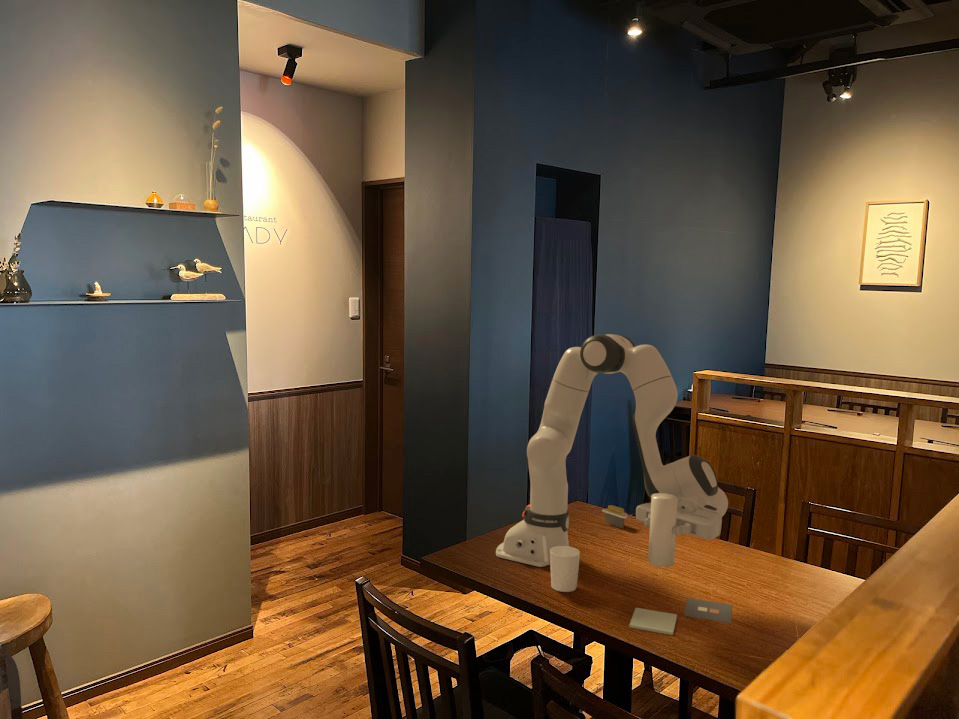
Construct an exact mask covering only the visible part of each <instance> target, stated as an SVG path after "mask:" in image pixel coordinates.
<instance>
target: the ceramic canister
mask: <svg viewBox="0 0 959 719" xmlns="http://www.w3.org/2000/svg"><path fill="white" fill-rule="evenodd" d="M650 502H651V514H650V527H649V534H648V535H649V536H648V537H649V539H648V557H647V558H648V559H647V560H648V563H649V564H651V565H653V566H656V567H663V568H665V567H668V568H669V567H673V566H674V564H675V551H676V550H675V549H676V534H673V533H672V531H673V526H675V525H676V517H677V497H676V496H674V495H671V494H666V493H655V494H652V495H651V498H650Z"/></svg>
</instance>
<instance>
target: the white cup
mask: <svg viewBox="0 0 959 719" xmlns="http://www.w3.org/2000/svg"><path fill="white" fill-rule="evenodd" d="M580 553H581V551H580V550H579V549H577V548H576V547H574V546H570V545H569V546H556V547H553V548H551V549H550V565H549V568H550V583H551V584H550V585H551V589H553V590H554V591H557V592H560V593H569V592H570V593H571V592H574V591H576V589H577V588H578V578H579V571H580V570H579V568H580V567H579V566H580V555H581V554H580Z"/></svg>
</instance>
